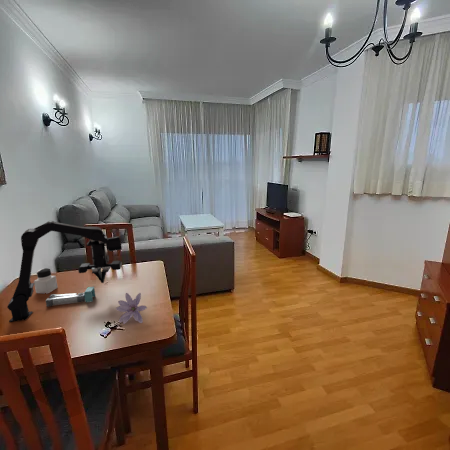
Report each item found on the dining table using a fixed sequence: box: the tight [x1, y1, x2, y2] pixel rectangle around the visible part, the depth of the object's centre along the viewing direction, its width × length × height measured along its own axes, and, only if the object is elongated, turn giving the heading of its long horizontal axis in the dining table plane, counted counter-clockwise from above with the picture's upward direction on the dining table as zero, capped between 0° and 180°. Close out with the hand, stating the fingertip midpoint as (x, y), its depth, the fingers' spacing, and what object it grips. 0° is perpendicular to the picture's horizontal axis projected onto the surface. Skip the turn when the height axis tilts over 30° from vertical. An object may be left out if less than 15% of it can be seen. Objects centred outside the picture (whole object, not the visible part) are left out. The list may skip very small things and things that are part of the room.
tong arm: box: [48, 292, 78, 298], centre depth 128 cm, size 12×2×3 cm, turn 98°
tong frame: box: [45, 292, 86, 308], centre depth 126 cm, size 16×4×4 cm, turn 103°
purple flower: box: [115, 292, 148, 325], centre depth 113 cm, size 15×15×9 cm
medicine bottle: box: [33, 267, 59, 295], centre depth 138 cm, size 7×7×12 cm
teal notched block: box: [83, 286, 96, 303], centre depth 128 cm, size 3×6×5 cm, turn 12°
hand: (102, 282), depth 128 cm, fingers closed
